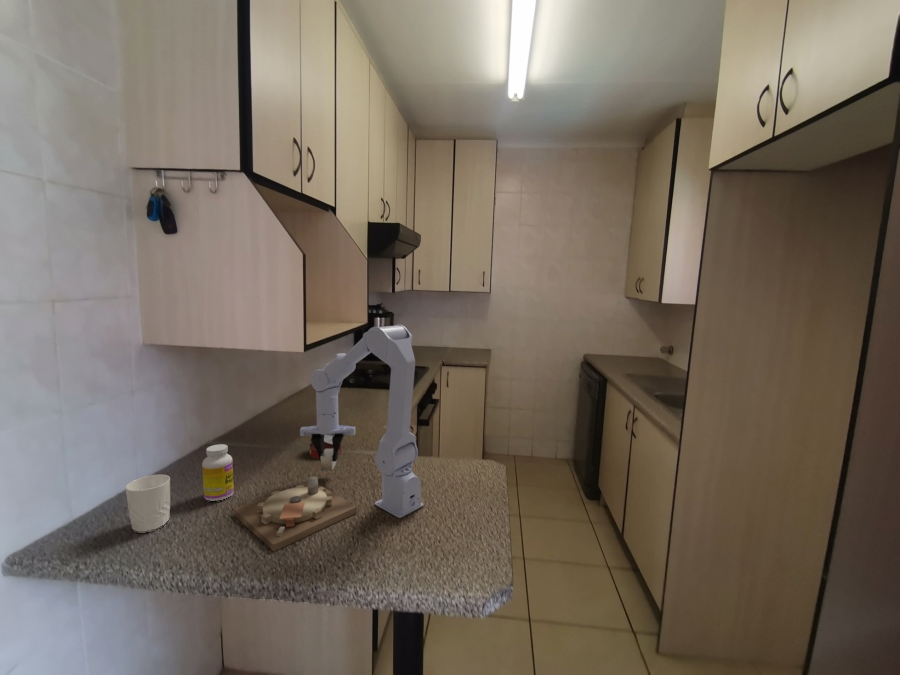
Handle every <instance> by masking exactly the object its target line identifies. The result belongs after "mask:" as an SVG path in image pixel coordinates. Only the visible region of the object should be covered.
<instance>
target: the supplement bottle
mask: <svg viewBox="0 0 900 675" xmlns="http://www.w3.org/2000/svg"><path fill="white" fill-rule="evenodd" d="M228 449H229V448H228V445H227V444H223V443H221V444H213V445H210V446H208V447H207V448H206V450H205V453H206V456H207V457H205V458H204V459H203V460H202V463H201V464H202V466H201V467H202V480H203V481H202V483H203V484H202V485H203V487H202V489H203V499H204V498H205V499H206V500H210V501H215V500H216V501H217V500H222V501H224V500H223V499H225V500H227V499H229V498H231V497H232V496H233V495H234V492H235V491H234V490H235V485H234V466H233V465H234V464H233V463H234V461H233V457H232V455H230V454H228V451H229V450H228ZM230 496H231V497H230ZM228 497H229V498H228ZM226 498H227V499H226ZM205 499H204V500H205ZM206 500H205V501H206ZM217 502H218V501H217Z"/></svg>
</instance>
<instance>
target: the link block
mask: <svg viewBox="0 0 900 675" xmlns="http://www.w3.org/2000/svg"><path fill="white" fill-rule="evenodd" d="M337 460H338V459H337ZM337 460H336V461H333V449H325V450H324V452H323V453H322V455H321V462H320V471H325V472H326V471H330V472H331V471H333V470H334V468H335V466H336V464H337Z"/></svg>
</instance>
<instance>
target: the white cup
mask: <svg viewBox="0 0 900 675" xmlns="http://www.w3.org/2000/svg"><path fill="white" fill-rule="evenodd" d="M125 494H126V501H127V509H128V514H129V515H128V516H129V519H130V526H131V530H132V529H133V530H136V531H147V530H151V529H156V528H158V527H160V526H162V525H164V524H165V523H166V522H167V521H168V520H169V518H170V517H171V514H170V510H171V477H170V476H169V475H167V474H151V475H146V476H142V477H139V478H137V479H134V480H132V481H130V482H128V483H127V484H126V485H125ZM170 519H171V518H170ZM169 521H170V520H169ZM133 530H132V531H133Z"/></svg>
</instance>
